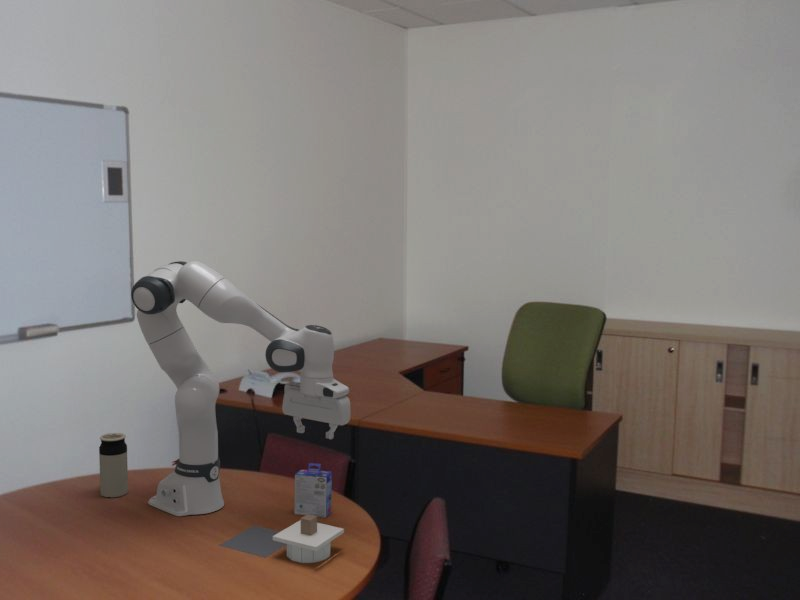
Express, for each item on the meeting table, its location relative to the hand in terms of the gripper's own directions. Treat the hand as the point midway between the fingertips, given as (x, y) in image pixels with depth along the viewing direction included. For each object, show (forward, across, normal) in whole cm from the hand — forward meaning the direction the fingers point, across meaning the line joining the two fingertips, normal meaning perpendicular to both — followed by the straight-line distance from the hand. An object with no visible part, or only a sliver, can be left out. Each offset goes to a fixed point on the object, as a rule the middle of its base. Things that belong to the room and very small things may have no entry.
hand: (315, 435), depth 225 cm
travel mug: (+28, -67, -9) cm, 73 cm away
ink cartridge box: (+27, -6, +9) cm, 29 cm away
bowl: (+26, +9, -15) cm, 31 cm away
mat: (+27, -7, -15) cm, 31 cm away
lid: (+21, +9, -15) cm, 27 cm away
